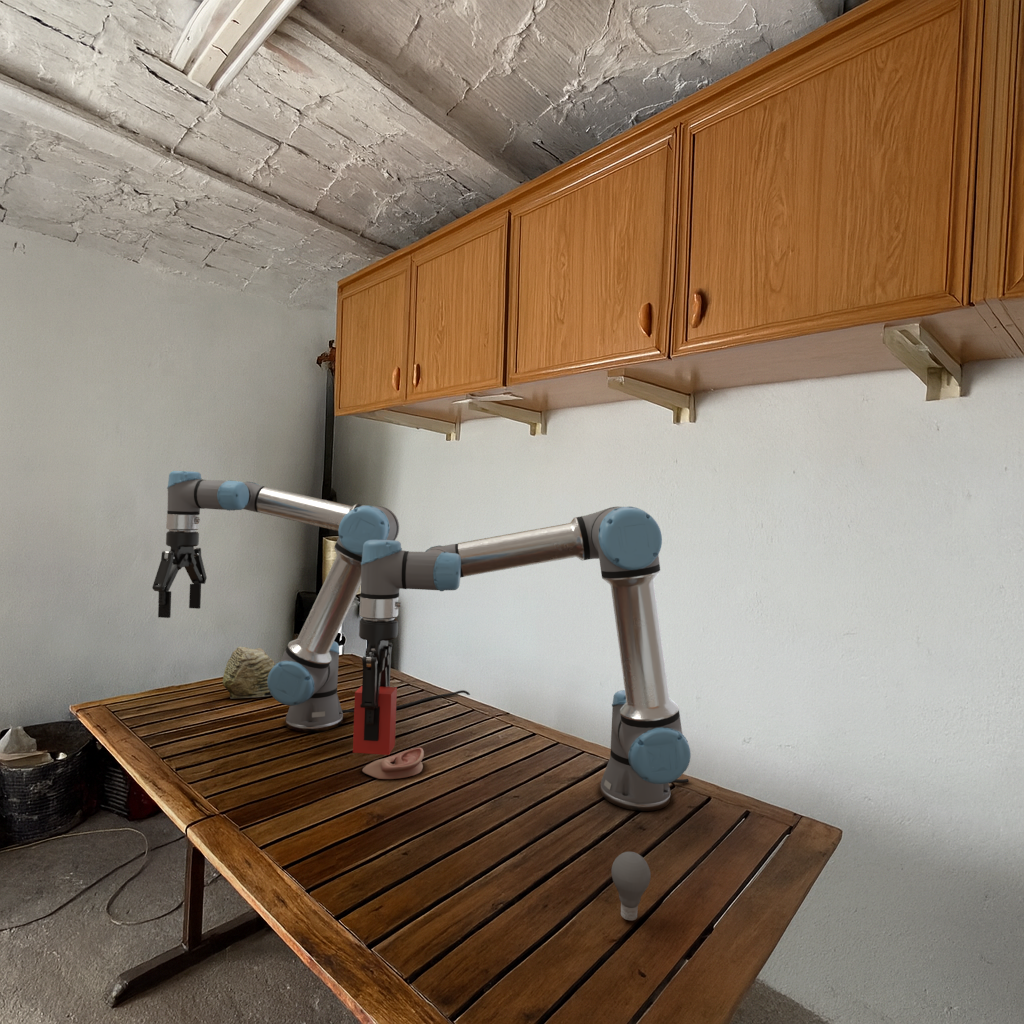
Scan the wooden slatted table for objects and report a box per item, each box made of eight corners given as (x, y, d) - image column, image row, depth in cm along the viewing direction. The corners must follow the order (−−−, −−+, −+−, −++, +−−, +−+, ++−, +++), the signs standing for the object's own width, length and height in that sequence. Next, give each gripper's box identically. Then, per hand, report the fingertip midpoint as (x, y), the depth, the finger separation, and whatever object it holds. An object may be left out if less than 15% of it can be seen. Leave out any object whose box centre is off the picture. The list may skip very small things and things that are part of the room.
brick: (352, 752, 124) (354, 692, 123) (359, 743, 128) (361, 685, 128) (389, 755, 123) (391, 694, 123) (394, 745, 128) (397, 687, 128)
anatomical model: (356, 758, 144) (377, 740, 155) (356, 775, 144) (376, 756, 155) (412, 766, 141) (429, 746, 152) (411, 783, 141) (428, 763, 153)
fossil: (218, 695, 195) (220, 647, 195) (278, 685, 208) (279, 640, 207) (228, 703, 189) (230, 653, 188) (289, 692, 201) (290, 645, 201)
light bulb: (605, 905, 101) (608, 843, 101) (642, 905, 102) (645, 843, 102) (614, 931, 95) (617, 865, 95) (653, 930, 96) (656, 865, 96)
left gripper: (168, 533, 151) (165, 622, 151) (221, 529, 176) (219, 605, 176) (137, 532, 151) (134, 620, 152) (195, 528, 176) (192, 604, 177)
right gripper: (386, 627, 116) (381, 753, 117) (407, 611, 134) (403, 720, 134) (346, 625, 117) (341, 751, 117) (372, 609, 134) (369, 718, 135)
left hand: (180, 612), depth 164 cm, fingers open, 13 cm apart
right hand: (375, 734), depth 126 cm, fingers closed on brick, 5 cm apart
